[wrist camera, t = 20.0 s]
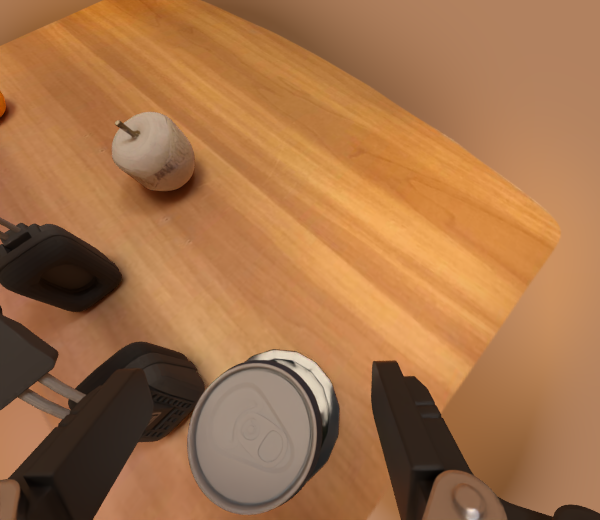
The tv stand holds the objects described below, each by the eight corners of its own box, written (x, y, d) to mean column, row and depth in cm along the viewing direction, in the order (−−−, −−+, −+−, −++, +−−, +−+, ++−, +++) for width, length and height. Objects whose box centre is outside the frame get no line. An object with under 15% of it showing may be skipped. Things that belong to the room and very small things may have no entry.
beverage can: (331, 403, 26) (350, 412, 13) (291, 470, 24) (263, 567, 11) (277, 362, 28) (242, 331, 14) (236, 421, 26) (150, 451, 12)
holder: (351, 387, 27) (359, 386, 22) (304, 495, 24) (302, 521, 19) (267, 340, 30) (257, 329, 25) (214, 433, 26) (191, 442, 21)
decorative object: (217, 169, 40) (188, 103, 31) (176, 216, 37) (131, 158, 28) (169, 148, 42) (129, 81, 33) (126, 190, 39) (70, 129, 30)
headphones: (218, 392, 28) (40, 387, 10) (164, 446, 26) (-175, 562, 8) (107, 251, 35) (-112, 99, 17) (59, 286, 33) (-242, 158, 15)
